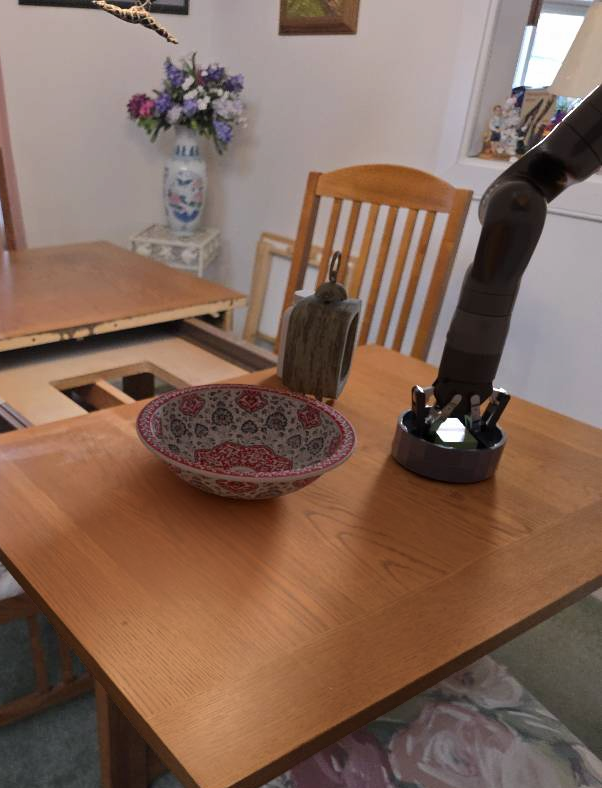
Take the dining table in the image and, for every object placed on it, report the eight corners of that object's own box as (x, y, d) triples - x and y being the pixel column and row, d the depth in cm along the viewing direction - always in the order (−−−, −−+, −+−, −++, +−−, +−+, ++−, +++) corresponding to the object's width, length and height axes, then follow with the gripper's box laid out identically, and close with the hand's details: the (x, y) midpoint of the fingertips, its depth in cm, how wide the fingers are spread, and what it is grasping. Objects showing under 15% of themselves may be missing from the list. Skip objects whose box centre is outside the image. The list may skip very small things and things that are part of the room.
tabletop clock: (329, 428, 113) (357, 264, 99) (275, 417, 115) (294, 256, 101) (346, 396, 124) (372, 245, 110) (296, 387, 126) (315, 239, 112)
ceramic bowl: (90, 481, 95) (88, 426, 90) (217, 415, 115) (220, 368, 110) (274, 565, 81) (282, 506, 76) (382, 474, 101) (393, 422, 96)
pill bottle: (327, 376, 131) (340, 294, 123) (302, 387, 126) (314, 303, 118) (292, 365, 136) (302, 285, 127) (267, 375, 131) (276, 292, 122)
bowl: (472, 439, 112) (481, 406, 109) (513, 486, 99) (525, 451, 96) (378, 437, 111) (385, 404, 108) (408, 485, 98) (417, 450, 95)
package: (449, 445, 108) (457, 418, 106) (469, 470, 102) (478, 442, 99) (417, 445, 108) (424, 417, 105) (435, 470, 101) (443, 441, 99)
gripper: (432, 350, 91) (404, 466, 101) (538, 353, 92) (500, 468, 102) (414, 332, 97) (389, 443, 107) (513, 335, 99) (480, 444, 108)
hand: (444, 454), depth 104 cm, fingers closed on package, 5 cm apart
